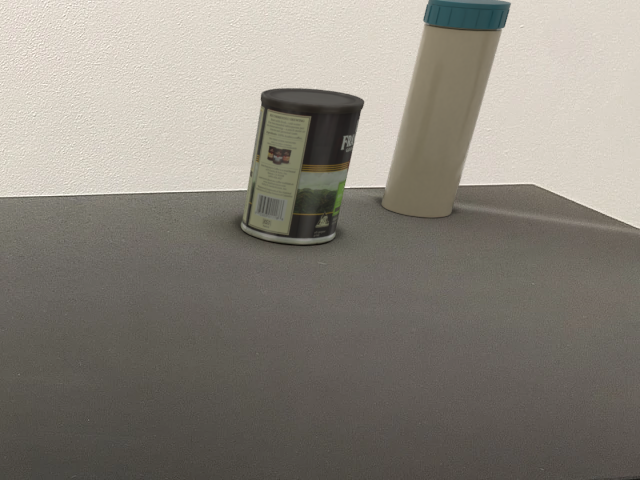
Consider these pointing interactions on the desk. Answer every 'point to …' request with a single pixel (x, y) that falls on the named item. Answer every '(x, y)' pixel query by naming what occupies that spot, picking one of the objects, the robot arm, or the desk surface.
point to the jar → (439, 119)
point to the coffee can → (300, 164)
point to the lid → (467, 13)
